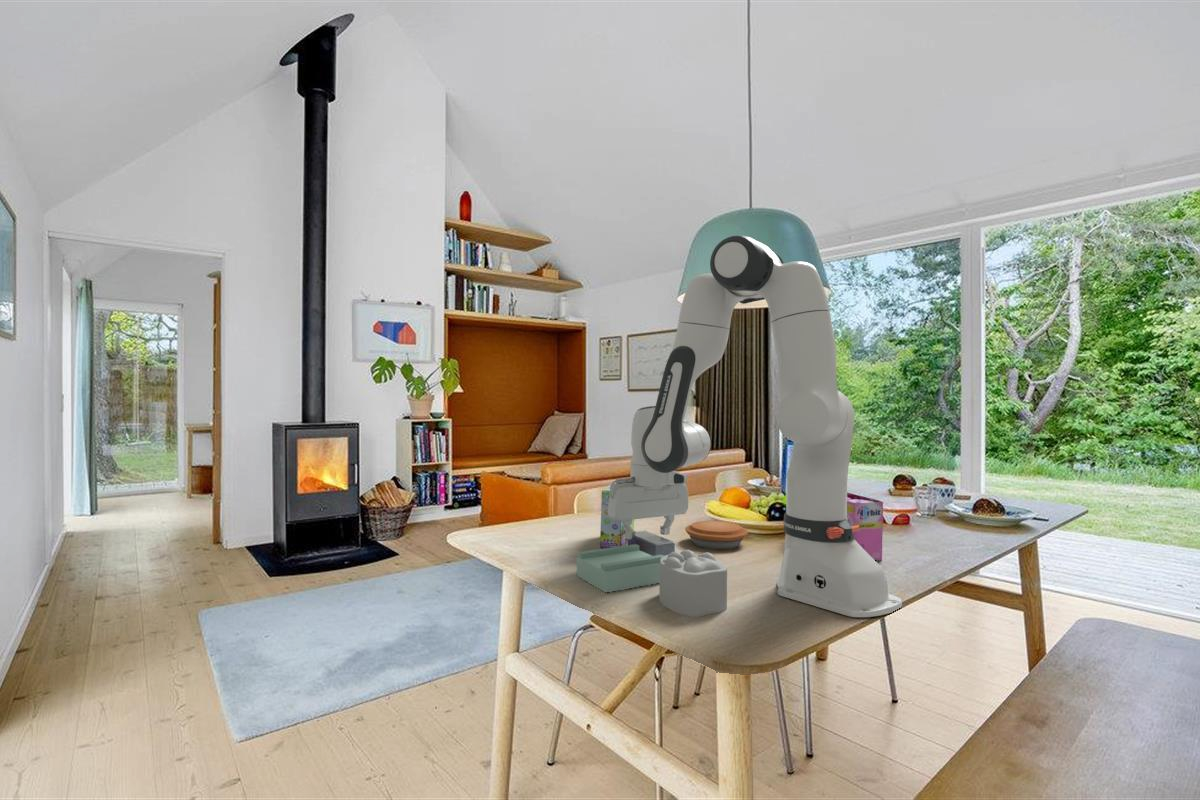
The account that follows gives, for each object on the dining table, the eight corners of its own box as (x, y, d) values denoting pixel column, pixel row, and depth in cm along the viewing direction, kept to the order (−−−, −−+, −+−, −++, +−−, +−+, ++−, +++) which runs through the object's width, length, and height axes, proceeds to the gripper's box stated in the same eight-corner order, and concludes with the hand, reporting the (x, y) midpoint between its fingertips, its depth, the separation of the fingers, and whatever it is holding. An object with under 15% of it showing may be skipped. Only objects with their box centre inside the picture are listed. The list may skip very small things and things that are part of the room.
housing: (674, 564, 132) (674, 541, 132) (655, 567, 130) (655, 544, 130) (645, 551, 143) (645, 530, 143) (627, 553, 140) (627, 532, 140)
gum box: (794, 537, 157) (794, 486, 156) (820, 536, 158) (821, 485, 158) (853, 563, 133) (854, 502, 133) (883, 560, 135) (884, 501, 135)
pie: (674, 538, 155) (674, 519, 155) (727, 534, 159) (728, 516, 159) (702, 554, 140) (702, 533, 140) (760, 549, 145) (760, 528, 145)
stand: (666, 581, 119) (666, 557, 119) (606, 593, 112) (606, 566, 112) (634, 566, 129) (634, 543, 129) (576, 575, 122) (576, 551, 122)
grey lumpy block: (685, 619, 100) (685, 567, 100) (646, 595, 111) (646, 549, 111) (735, 609, 104) (735, 560, 104) (692, 587, 116) (692, 543, 116)
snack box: (622, 556, 137) (623, 491, 137) (598, 555, 139) (599, 490, 138) (635, 534, 158) (636, 478, 158) (614, 533, 159) (615, 477, 159)
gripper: (617, 481, 128) (616, 544, 129) (693, 475, 138) (691, 534, 139) (603, 476, 134) (601, 537, 134) (676, 472, 144) (675, 528, 144)
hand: (648, 536), depth 136 cm, fingers open, 8 cm apart
